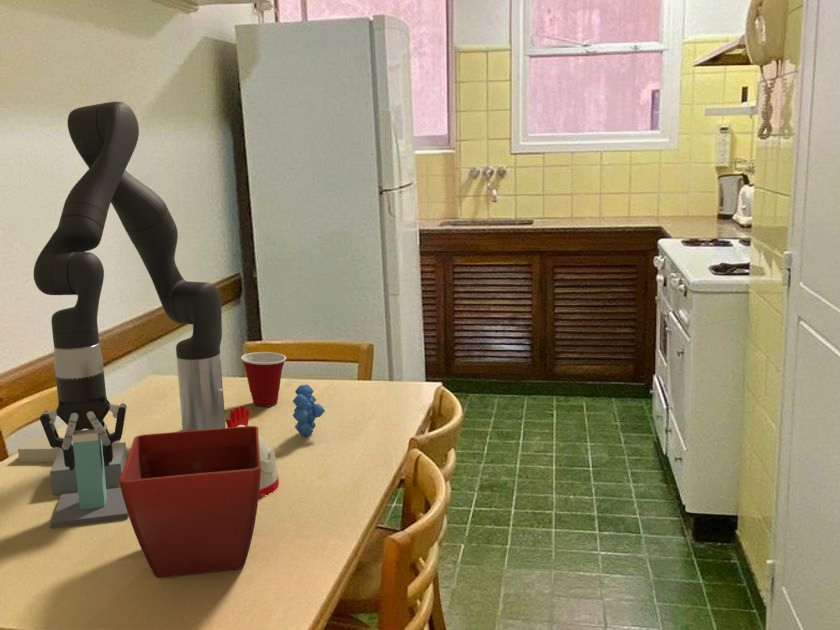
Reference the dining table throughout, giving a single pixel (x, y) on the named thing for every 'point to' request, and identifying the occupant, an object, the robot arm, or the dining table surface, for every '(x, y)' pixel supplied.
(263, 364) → the plastic cup
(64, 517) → the mat
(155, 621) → the dining table surface
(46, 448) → the electrical outlet
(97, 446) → the plug
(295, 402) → the grapes
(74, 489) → the grey square socket block
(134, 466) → the plant pot
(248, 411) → the kitchen timer
